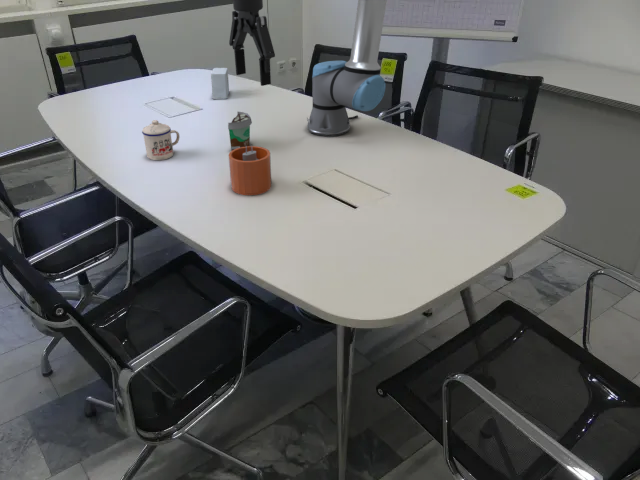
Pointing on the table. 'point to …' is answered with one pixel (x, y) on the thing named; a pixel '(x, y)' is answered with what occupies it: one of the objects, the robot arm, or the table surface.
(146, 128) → the teacup with lid
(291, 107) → the table surface
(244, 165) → the orange flower pot
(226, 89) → the cosmetics box
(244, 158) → the power adapter
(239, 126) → the food container
